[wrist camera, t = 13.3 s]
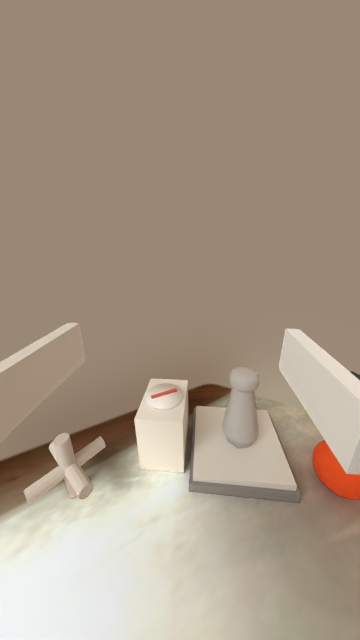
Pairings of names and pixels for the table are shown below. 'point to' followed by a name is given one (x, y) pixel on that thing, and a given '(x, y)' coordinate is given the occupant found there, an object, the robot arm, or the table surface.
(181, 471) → the dial scale
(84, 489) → the pipe connector
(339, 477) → the clementine
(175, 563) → the table surface
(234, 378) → the salt shaker
